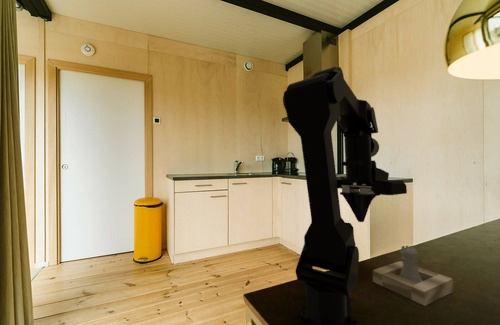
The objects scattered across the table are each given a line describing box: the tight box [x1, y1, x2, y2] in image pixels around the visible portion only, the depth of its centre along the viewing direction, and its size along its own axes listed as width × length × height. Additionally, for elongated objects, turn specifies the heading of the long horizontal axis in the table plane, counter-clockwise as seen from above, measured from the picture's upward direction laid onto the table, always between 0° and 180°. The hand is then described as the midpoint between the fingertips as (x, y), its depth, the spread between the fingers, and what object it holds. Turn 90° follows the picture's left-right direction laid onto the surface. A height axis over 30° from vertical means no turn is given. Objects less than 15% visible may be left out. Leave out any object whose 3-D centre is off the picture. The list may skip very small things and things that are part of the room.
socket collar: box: [372, 260, 454, 307], centre depth 47 cm, size 10×10×2 cm
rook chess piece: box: [399, 245, 423, 283], centre depth 47 cm, size 4×4×8 cm
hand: (360, 221), depth 54 cm, fingers closed
